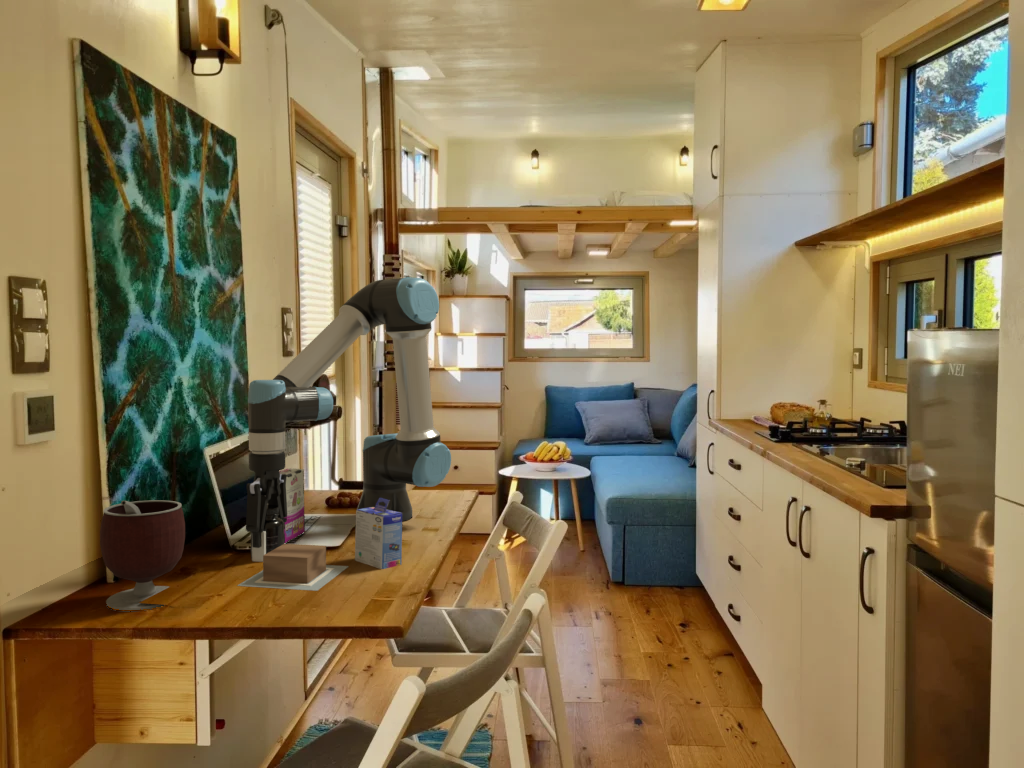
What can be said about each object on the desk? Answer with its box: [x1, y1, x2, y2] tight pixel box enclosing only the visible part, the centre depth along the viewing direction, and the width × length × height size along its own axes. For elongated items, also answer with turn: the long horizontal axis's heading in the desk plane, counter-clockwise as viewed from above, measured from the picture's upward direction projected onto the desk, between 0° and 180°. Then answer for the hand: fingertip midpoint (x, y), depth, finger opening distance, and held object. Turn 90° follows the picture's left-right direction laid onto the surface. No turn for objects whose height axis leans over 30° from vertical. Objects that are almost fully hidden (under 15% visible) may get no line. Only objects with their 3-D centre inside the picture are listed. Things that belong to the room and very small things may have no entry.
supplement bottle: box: [250, 505, 284, 559], centre depth 162 cm, size 7×7×12 cm
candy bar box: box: [279, 467, 306, 543], centre depth 181 cm, size 11×5×16 cm, turn 170°
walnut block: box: [262, 543, 327, 584], centre depth 148 cm, size 9×9×5 cm
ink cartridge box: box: [354, 498, 403, 570], centre depth 158 cm, size 10×6×14 cm, turn 47°
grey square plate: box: [236, 564, 349, 592], centre depth 148 cm, size 16×16×1 cm
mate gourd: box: [99, 499, 186, 610], centre depth 136 cm, size 16×14×20 cm
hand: (267, 556), depth 162 cm, fingers closed on supplement bottle, 7 cm apart
